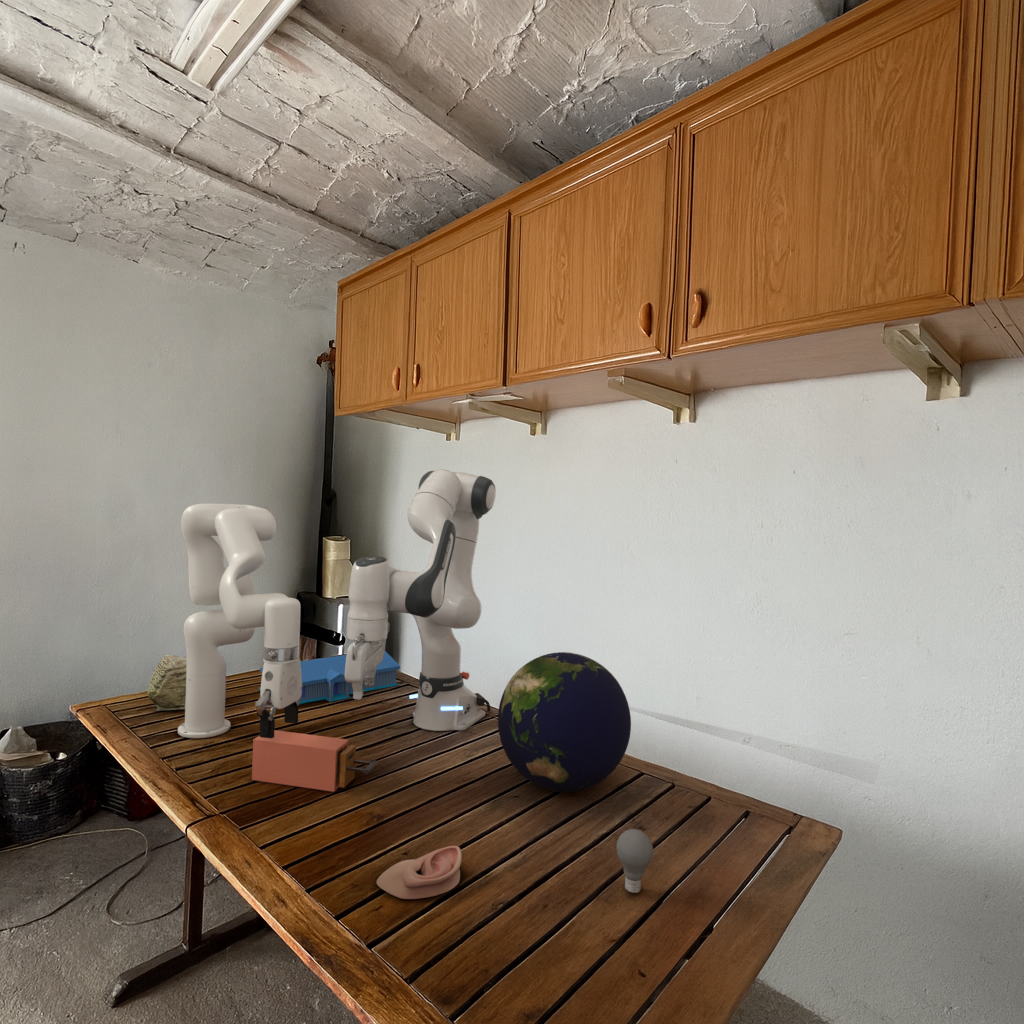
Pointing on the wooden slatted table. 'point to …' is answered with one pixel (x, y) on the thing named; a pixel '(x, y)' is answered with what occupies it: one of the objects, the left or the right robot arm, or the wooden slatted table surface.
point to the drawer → (350, 765)
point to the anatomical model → (423, 874)
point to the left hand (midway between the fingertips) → (279, 729)
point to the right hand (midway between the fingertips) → (363, 692)
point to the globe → (564, 722)
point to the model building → (339, 678)
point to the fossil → (169, 683)
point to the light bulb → (634, 857)
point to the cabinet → (297, 760)
